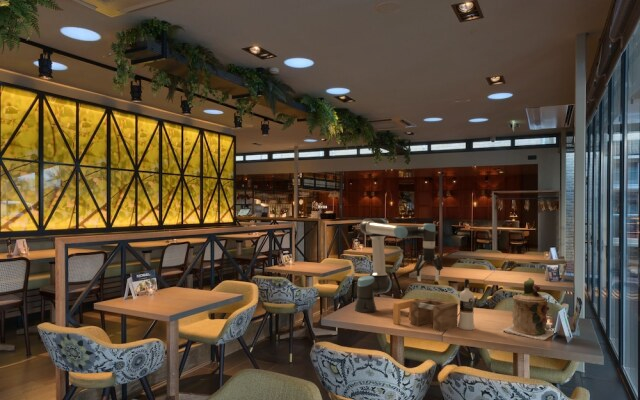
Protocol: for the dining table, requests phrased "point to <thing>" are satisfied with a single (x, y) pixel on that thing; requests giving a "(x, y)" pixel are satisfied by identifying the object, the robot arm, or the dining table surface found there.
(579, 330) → the dining table surface
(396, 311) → the wooden u-shaped block
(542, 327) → the cookie jar
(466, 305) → the vodka
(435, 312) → the dark wooden box
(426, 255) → the robot arm
